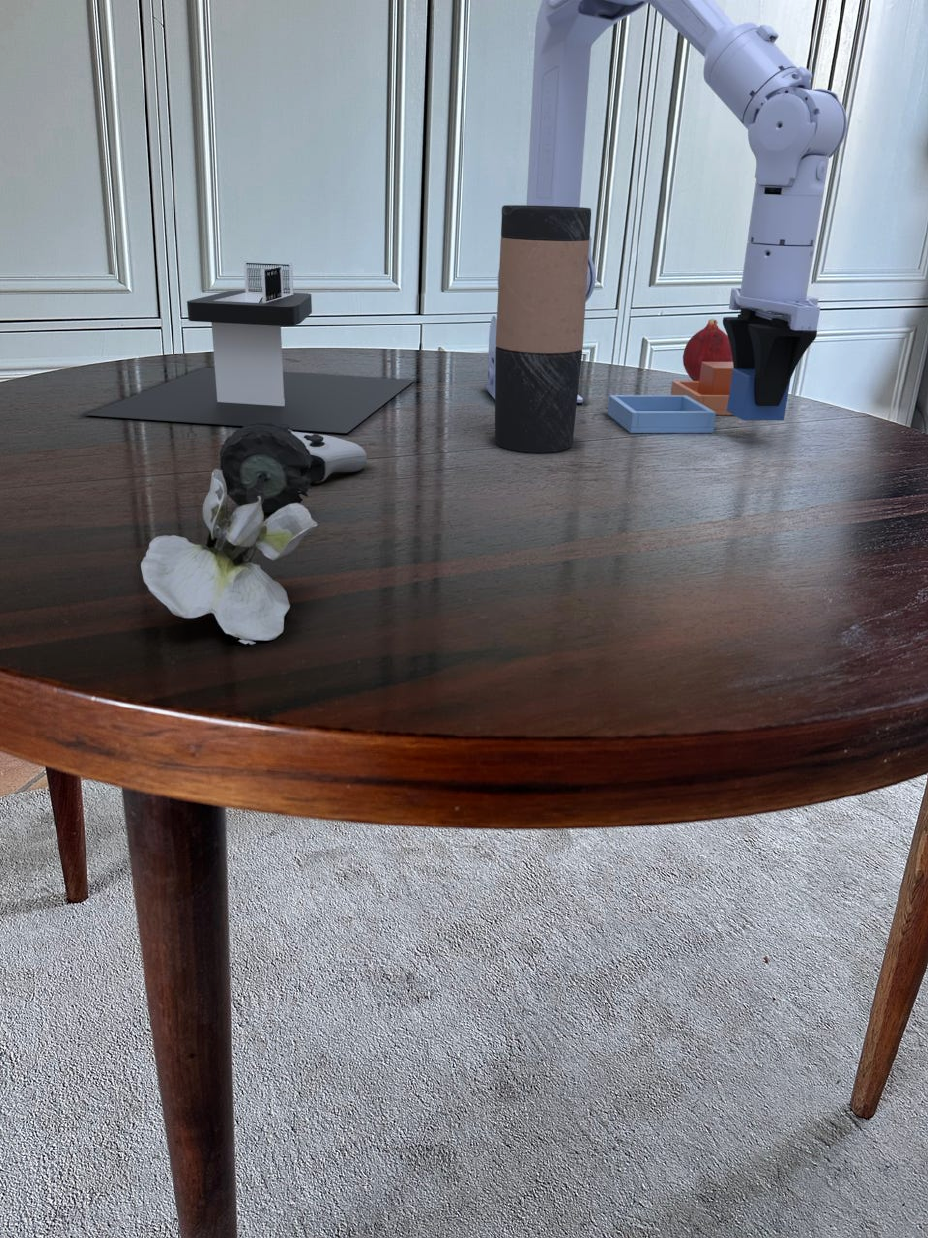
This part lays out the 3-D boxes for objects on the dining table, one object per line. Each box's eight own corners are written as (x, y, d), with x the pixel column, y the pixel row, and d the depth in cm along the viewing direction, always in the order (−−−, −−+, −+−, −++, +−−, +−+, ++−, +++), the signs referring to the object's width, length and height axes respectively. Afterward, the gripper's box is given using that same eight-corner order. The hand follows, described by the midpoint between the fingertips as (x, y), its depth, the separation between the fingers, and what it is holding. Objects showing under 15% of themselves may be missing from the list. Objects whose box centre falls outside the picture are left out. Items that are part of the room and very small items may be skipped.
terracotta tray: (696, 414, 104) (698, 395, 103) (670, 398, 111) (672, 380, 111) (771, 414, 105) (774, 395, 104) (741, 398, 113) (743, 380, 112)
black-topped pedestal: (346, 434, 92) (343, 282, 86) (84, 416, 96) (65, 270, 90) (414, 381, 117) (415, 261, 111) (204, 368, 121) (195, 252, 115)
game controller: (373, 455, 81) (350, 414, 76) (354, 513, 79) (329, 475, 74) (269, 443, 84) (239, 402, 78) (248, 498, 82) (217, 460, 77)
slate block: (742, 420, 90) (749, 376, 89) (726, 410, 94) (732, 368, 92) (784, 420, 91) (791, 376, 89) (766, 411, 95) (772, 368, 93)
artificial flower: (335, 528, 71) (370, 399, 66) (260, 713, 51) (301, 551, 46) (214, 492, 70) (239, 358, 65) (91, 666, 51) (113, 494, 46)
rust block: (709, 405, 106) (714, 367, 104) (696, 398, 110) (701, 361, 108) (745, 405, 107) (750, 368, 105) (731, 398, 110) (736, 361, 109)
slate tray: (630, 433, 95) (632, 412, 95) (607, 414, 103) (608, 394, 102) (713, 432, 97) (716, 412, 96) (684, 414, 104) (686, 395, 103)
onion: (734, 394, 115) (744, 323, 112) (684, 392, 115) (693, 321, 112) (723, 385, 120) (732, 316, 117) (675, 383, 120) (683, 315, 117)
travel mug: (586, 439, 92) (604, 207, 84) (558, 458, 86) (575, 208, 78) (510, 429, 95) (521, 204, 87) (478, 446, 89) (486, 205, 81)
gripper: (865, 250, 80) (834, 417, 86) (788, 239, 93) (766, 385, 99) (783, 248, 79) (757, 417, 85) (716, 238, 92) (698, 384, 98)
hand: (757, 400), depth 92 cm, fingers closed on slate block, 4 cm apart
